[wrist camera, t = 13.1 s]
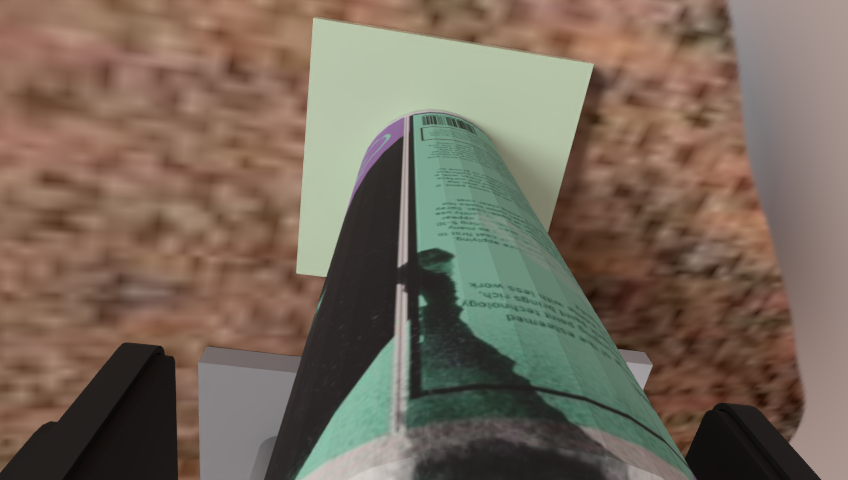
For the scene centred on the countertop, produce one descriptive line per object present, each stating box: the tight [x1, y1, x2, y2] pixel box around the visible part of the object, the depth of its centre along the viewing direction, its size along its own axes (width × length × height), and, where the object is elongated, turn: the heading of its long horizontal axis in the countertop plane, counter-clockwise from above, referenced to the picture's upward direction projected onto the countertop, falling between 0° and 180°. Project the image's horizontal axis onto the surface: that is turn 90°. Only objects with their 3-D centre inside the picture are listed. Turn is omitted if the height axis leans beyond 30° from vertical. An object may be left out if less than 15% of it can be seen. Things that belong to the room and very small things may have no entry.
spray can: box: [264, 109, 697, 480], centre depth 12 cm, size 6×6×20 cm
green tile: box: [296, 17, 594, 277], centre depth 22 cm, size 10×10×1 cm
